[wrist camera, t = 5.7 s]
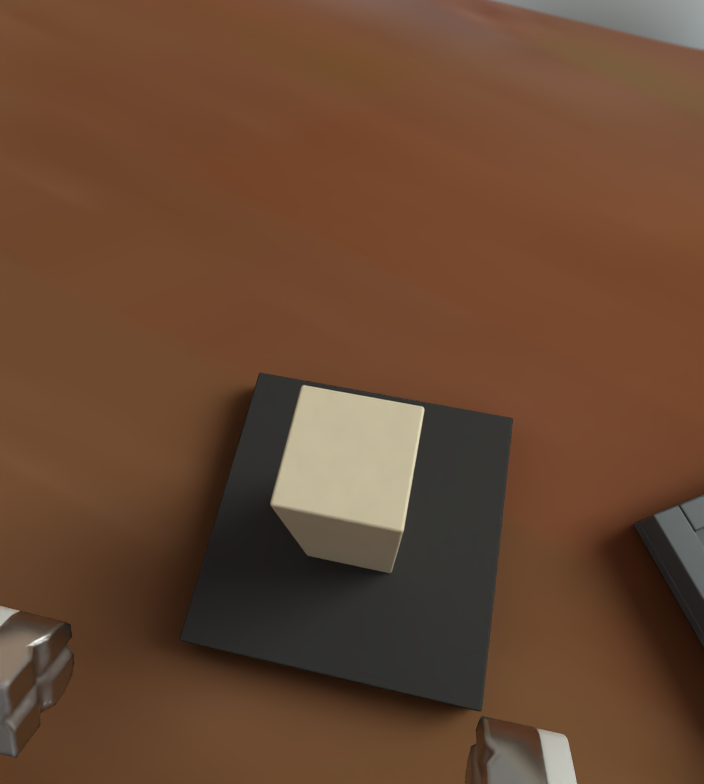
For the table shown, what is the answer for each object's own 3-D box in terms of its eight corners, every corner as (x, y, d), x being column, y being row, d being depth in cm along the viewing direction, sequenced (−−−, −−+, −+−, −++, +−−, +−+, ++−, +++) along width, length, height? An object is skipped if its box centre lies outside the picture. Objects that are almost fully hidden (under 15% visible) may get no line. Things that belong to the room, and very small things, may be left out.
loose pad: (475, 708, 19) (558, 759, 11) (189, 640, 20) (58, 639, 12) (506, 428, 23) (585, 304, 15) (264, 384, 24) (206, 244, 16)
